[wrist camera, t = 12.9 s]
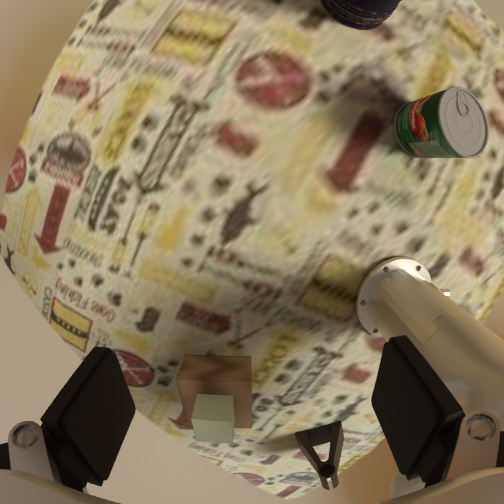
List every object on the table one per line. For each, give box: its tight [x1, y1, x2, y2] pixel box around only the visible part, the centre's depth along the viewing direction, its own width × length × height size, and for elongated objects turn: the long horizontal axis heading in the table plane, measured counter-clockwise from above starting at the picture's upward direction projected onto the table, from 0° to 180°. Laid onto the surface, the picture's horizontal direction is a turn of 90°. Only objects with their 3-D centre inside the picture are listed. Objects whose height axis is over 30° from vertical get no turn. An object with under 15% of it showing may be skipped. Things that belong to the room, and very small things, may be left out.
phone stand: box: [295, 421, 344, 490], centre depth 41 cm, size 9×6×12 cm, turn 107°
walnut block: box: [177, 355, 252, 428], centre depth 40 cm, size 10×10×6 cm
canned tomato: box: [394, 87, 489, 158], centre depth 27 cm, size 8×8×11 cm
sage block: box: [191, 394, 235, 443], centre depth 35 cm, size 5×5×5 cm
